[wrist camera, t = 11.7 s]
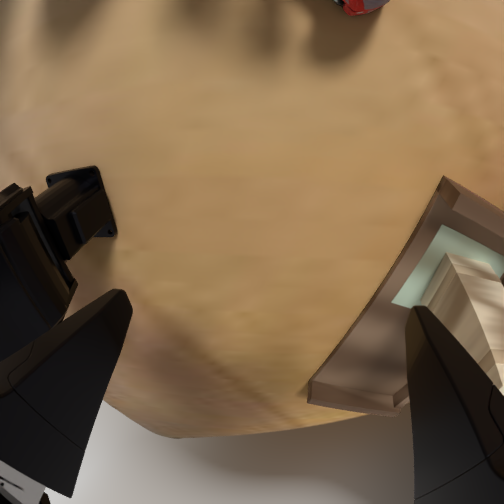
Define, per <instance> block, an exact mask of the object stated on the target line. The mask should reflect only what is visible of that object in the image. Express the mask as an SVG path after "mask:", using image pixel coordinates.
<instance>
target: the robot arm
mask: <svg viewBox="0 0 504 504" xmlns="http://www.w3.org/2000/svg"><path fill="white" fill-rule="evenodd" d="M92 171H93V172H94V174H93V172H92ZM46 182H47V185H48V189H47V190H45V191H44V192H42V193H41V194H39V195H38V196H37V197H35V198H34V196H33V194H32V193H33V191H32V188H31V186H29V187H27V188H24V189H23V188H21V187H19V186H18V185H17V184H15V183H13V184H11V185H9V186H8V187H6V188H5V189H3V190H2V191H1V192H0V504H50V501H49V498H48V495H47V494H46V493H45V492H44V490H45V487H48V488H50V489H52V490H54V491H56V492H58V493H60V494H62V495H64V496H66V497H69V498H71V497H72V495H73V491H74V488H75V484H76V480H77V477H78V473H79V470H80V467H81V463H82V460H83V457H84V453H85V449H86V447H87V444H88V440H89V437H90V434H91V431H92V428H93V425H94V422H95V419H96V417H97V414H98V411H99V408H100V405H101V403H102V400H103V397H104V394H105V392H106V389H107V386H108V384H109V381H110V378H111V376H112V373H113V371H114V368H115V366H116V363H117V360H118V358H119V355H120V353H121V350H122V347H123V343H124V340H125V337H126V333H127V330H128V327H129V323H130V320H131V317H132V313H133V309H132V305H131V303H130V301H129V298H128V296H127V294H126V292H125V291H124V290H122V289H112V290H110V291H109V292H107V293H106V294H104V295H102V296H101V297H99V298H98V299H96V300H95V301H93V302H91V303H90V304H88V305H87V306H85V307H84V308H82V309H81V310H79V311H77V312H76V313H74V314H73V315H71V316H70V317H68V318H67V319H65V320H64V321H63V319H64V317H65V314H66V312H67V309H68V307H69V304H70V302H71V300H72V297H73V295H74V293H75V290H76V288H77V286H78V283H77V281H76V279H75V278H73V276H72V274H71V273H70V271H69V269H68V267H67V265H66V262H67V260H70V259H71V258H72V257H73V256H74V255H75V254H76V253H77V252H78V251H79V250H80V249H81V248H82V247H83V246H84V245H85V244H87V243H88V242H89V241H90V240H91V238H92V237H113V236H114V235H115V234H116V233H117V229H116V226H115V223H114V220H113V217H112V214H111V211H110V207H109V204H108V201H107V197H106V194H105V191H104V187H103V183H102V180H101V176H100V172H99V169H98V168H97V167H96V166H88V167H82V168H77V169H72V170H67V171H62V172H57V173H53V174H50V175H48V176H47V177H46ZM110 230H111V231H112V232H111V231H110ZM405 345H406V371H407V384H408V392H409V400H410V410H411V420H412V433H413V450H414V484H415V485H414V499H415V500H414V504H504V395H503V394H502V393H501V392H500V390H499V389H498V388H497V387H496V385H493V382H492V381H491V379H490V378H489V377H488V376H487V374H486V373H485V372H484V371H483V369H482V368H481V367H480V366H479V365H478V363H477V362H476V361H475V360H474V359H473V357H472V356H471V355H470V354H469V353H468V352H467V350H466V349H465V348H464V347H463V346H462V345H461V344H460V342H459V341H458V340H457V339H456V338H455V337H454V336H453V334H452V333H451V332H450V331H449V330H448V329H447V328H446V327H445V326H444V324H443V323H442V322H441V321H440V320H439V319H438V318H437V317H436V316H435V315H434V314H433V313H432V312H431V310H430V309H429V308H428V307H427V306H425V305H415V306H413V307H412V308H411V311H410V314H409V316H408V319H407V322H406V325H405Z"/></svg>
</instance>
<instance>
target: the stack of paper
mask: <svg viewBox="0 0 504 504" xmlns="http://www.w3.org/2000/svg"><path fill="white" fill-rule="evenodd" d="M501 283H502V282H501V280H500V279H499V277H498V275H497V274H495V272H494V270H493V269H492V267H491V265H490V264H488V263H485V262H481V261H478V260H474V259H470V258H467V257H463V256H459V255H455V254H452V253H448V252H446V253H445V255H444V257H443V259H442V261H441V263H440V265H439V267H438V269H437V270H436V272H435V274H434V276H433V278H432V280H431V282H430V283H429V285H428V287H427V289H426V290H425V292H424V294H423V296H422V297H421V299H420V301H421V304H422V305H425V306H427V307H428V308H429V309H430V310H431V312H432V313H433V314H434V315H435V316H436V317H437V318H438V319H439V320H440V321H441V322H442V323H443V324H444V326H445V327H446V328H447V329H448V330H449V331H450V332H451V333H452V334H453V336H454V337H455V338H456V339H457V340H458V341H459V342H460V344H461V345H462V346H463V347H464V348H465V349H466V350H467V352H468V353H469V354H470V355H471V356H472V357H473V359H474V360H475V361H476V362H477V363H478V365H479V366H480V367H481V368H482V369H483V371H484V372H485V373H486V374H487V376H488V377H489V378H490V379H491V381H492V382H493V385H496V387H497V388H498V389H499V390H500V392H501V393H502V394H503V395H504V287H503V285H502V284H501Z"/></svg>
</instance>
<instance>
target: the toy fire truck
mask: <svg viewBox="0 0 504 504" xmlns="http://www.w3.org/2000/svg"><path fill="white" fill-rule="evenodd" d="M333 1H334V2H335V3H336V4H337V5H340V6H343V10H344V11H345V12H346V13H347V14H348V15H350V16H355V15H362V14H366V13H369V12H372V11H374V10H376V9H378V8H380V7H382V6H384V5H385V4H386V3H387V2H389V1H390V0H333Z"/></svg>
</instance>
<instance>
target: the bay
mask: <svg viewBox="0 0 504 504" xmlns="http://www.w3.org/2000/svg"><path fill="white" fill-rule="evenodd" d="M446 252H448V253H452V254H455V255H459V256H463V257H467V258H470V259H474V260H478V261H481V262H485V263H488V264H490V265H491V267H492V269H493V270H494V272H495V274H497V275H498V277H499V279H500V280H501V282H502V283H501V284H502V285H503V287H504V212H503V211H502V210H500V209H499V208H497V207H496V206H494V205H492V204H491V203H489V202H488V201H486V200H485V199H483V198H481V197H480V196H478V195H476V194H475V193H473V192H471V191H470V190H468V189H466V188H465V187H463V186H461V185H460V184H458V183H456V182H454V181H452V180H451V179H449V178H447V177H445V176H443V178H442V180H441V182H440V184H439V186H438V188H437V189H436V191H435V193H434V195H433V197H432V199H431V201H430V203H429V205H428V207H427V208H426V210H425V212H424V214H423V216H422V218H421V219H420V221H419V223H418V225H417V227H416V228H415V230H414V232H413V233H412V235H411V237H410V239H409V240H408V242H407V244H406V245H405V247H404V249H403V250H402V252H401V254H400V255H399V257H398V259H397V260H396V262H395V263H394V265H393V267H392V268H391V270H390V271H389V273H388V274H387V276H386V277H385V279H384V281H383V282H382V284H381V285H380V287H379V288H378V290H377V291H376V293H375V294H374V296H373V297H372V298H371V300H370V301H369V303H368V304H367V306H366V307H365V309H364V310H363V311H362V313H361V314H360V316H359V317H358V318H357V320H356V321H355V323H354V324H353V325H352V327H351V328H350V329H349V331H348V332H347V333H346V335H345V336H344V337H343V339H342V340H341V341H340V343H339V344H338V345H337V347H336V348H335V349H334V351H333V352H332V353H331V354H330V356H329V357H328V358H327V359H326V361H325V362H324V363H323V364H322V366H321V367H320V368H319V369H318V371H317V372H316V373H315V374H314V375H313V377H312V378H311V379H310V380H309V385H308V398H307V403H309V404H314V405H319V406H324V407H329V408H335V409H341V410H347V411H353V412H360V413H367V414H374V415H382V416H391V417H395V416H397V415H398V414H400V408H402V407H403V406H404V405H405V404H407V403H408V402H409V401H410V400H409V392H408V384H407V371H406V345H405V325H406V322H407V319H408V316H409V314H410V311H411V308H412V307H413V306H415V305H422V304H421V301H420V299H421V297H422V296H423V294H424V292H425V290H426V289H427V287H428V285H429V283H430V282H431V280H432V278H433V276H434V274H435V272H436V270H437V269H438V267H439V265H440V263H441V261H442V259H443V257H444V255H445V253H446Z"/></svg>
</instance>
